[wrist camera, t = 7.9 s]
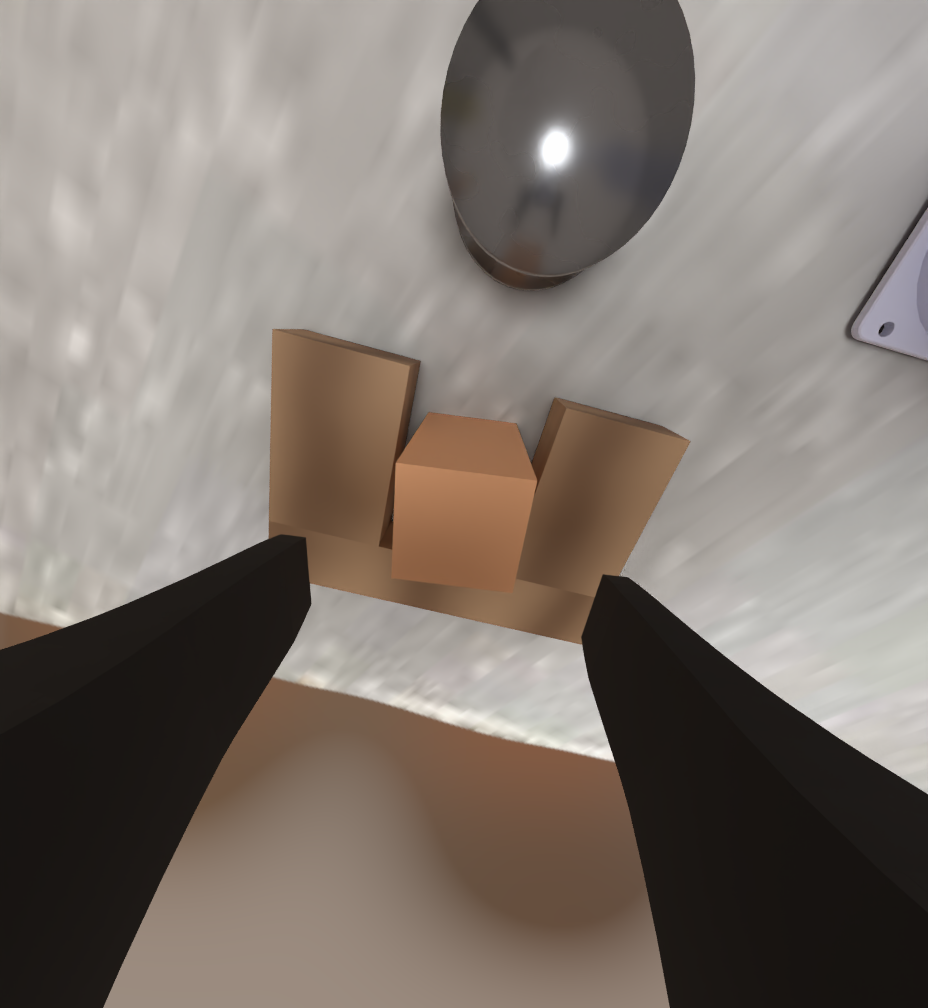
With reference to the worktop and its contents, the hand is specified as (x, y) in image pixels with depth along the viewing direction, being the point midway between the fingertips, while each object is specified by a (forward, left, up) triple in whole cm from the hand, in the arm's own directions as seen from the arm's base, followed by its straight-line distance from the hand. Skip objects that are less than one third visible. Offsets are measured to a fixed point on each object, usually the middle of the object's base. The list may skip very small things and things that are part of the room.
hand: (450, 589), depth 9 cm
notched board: (0, +2, -9) cm, 10 cm away
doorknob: (0, -10, -9) cm, 14 cm away
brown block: (0, 0, -9) cm, 9 cm away
